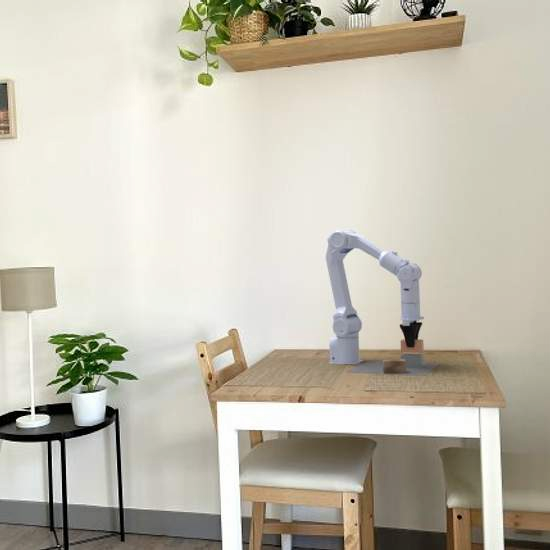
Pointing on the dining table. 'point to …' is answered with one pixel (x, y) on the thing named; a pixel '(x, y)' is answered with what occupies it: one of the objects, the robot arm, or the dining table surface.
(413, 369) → the felt mat
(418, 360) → the brick slate
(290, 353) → the dining table surface
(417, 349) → the brick terracotta
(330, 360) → the robot arm
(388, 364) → the brick walnut
